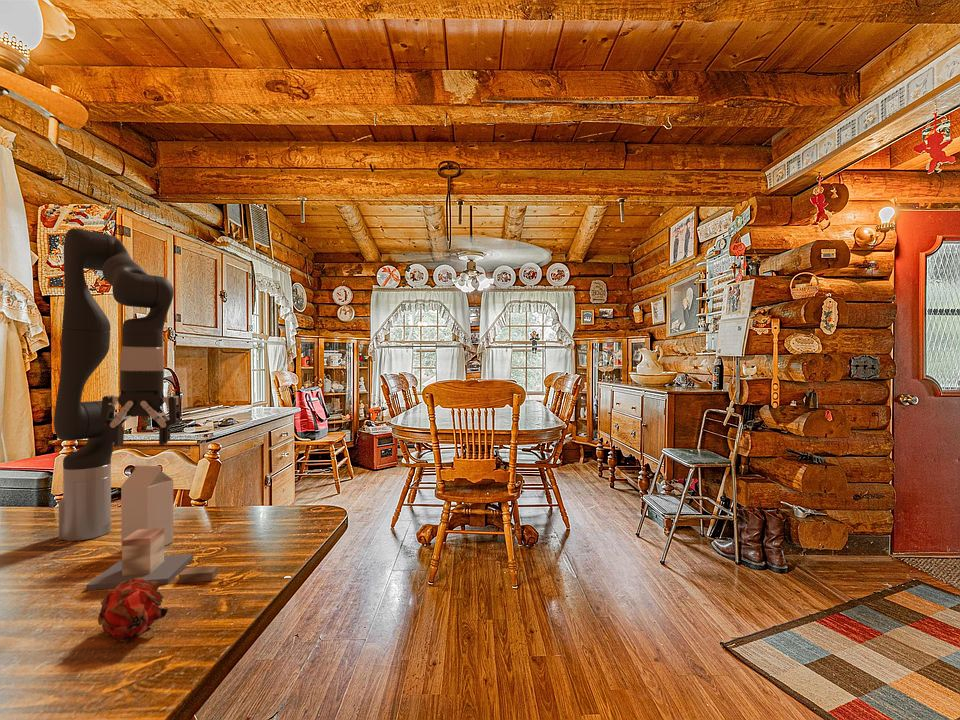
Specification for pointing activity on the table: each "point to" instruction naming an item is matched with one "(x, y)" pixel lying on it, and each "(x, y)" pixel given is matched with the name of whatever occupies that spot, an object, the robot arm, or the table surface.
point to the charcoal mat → (160, 574)
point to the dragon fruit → (131, 608)
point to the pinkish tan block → (142, 551)
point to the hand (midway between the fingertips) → (141, 444)
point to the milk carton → (147, 502)
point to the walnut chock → (198, 574)
